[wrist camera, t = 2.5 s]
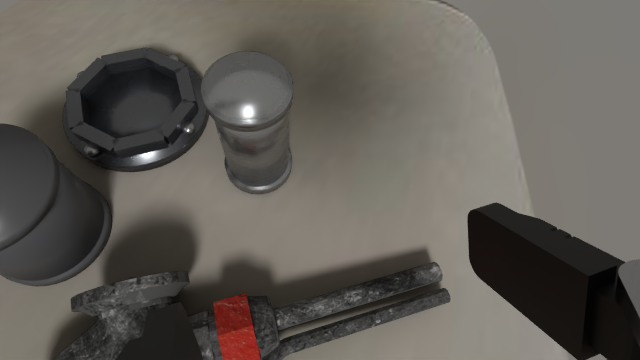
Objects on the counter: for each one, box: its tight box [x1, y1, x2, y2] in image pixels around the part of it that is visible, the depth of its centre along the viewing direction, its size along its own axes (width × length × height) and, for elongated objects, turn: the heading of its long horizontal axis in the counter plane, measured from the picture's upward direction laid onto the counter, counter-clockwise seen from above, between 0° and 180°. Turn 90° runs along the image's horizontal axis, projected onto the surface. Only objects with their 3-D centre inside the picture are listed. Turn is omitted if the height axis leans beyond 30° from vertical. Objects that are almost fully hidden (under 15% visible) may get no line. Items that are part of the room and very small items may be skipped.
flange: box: [63, 48, 209, 172], centre depth 31 cm, size 11×11×2 cm
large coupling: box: [0, 124, 112, 286], centre depth 23 cm, size 8×8×8 cm
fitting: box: [201, 51, 293, 194], centre depth 26 cm, size 5×5×10 cm
